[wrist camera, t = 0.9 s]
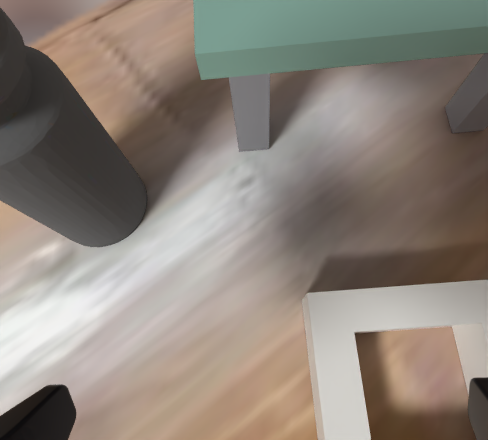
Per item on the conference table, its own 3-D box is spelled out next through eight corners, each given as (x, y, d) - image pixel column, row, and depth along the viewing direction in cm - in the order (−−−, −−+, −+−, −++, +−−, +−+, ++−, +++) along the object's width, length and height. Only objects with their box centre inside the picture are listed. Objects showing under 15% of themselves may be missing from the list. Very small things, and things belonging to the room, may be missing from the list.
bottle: (157, 169, 25) (10, -73, 11) (135, 254, 23) (-79, 99, 9) (74, 159, 25) (-169, -82, 11) (46, 241, 23) (-288, 77, 9)
